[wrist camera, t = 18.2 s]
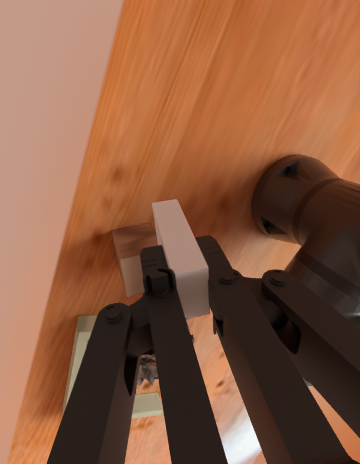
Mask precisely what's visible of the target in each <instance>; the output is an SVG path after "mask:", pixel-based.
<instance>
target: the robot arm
mask: <svg viewBox="0 0 360 464" xmlns="http://www.w3.org/2000/svg"><path fill="white" fill-rule="evenodd" d="M152 208H153V214H154V221H155V228H156V235H157V241H158V246H152V247H147V248H143V249H142V251H141V253H140V260H141V266H142V273H143V280H142V281H143V285H144V290H145V292H144V294H143V296H142V297H141V298H140V299H139V300H138V301H137V302H135V303H134V304H132V305H130V306H127V305H125V304H123V303H114V304H110V305H108V306H106V307H104V308H103V309H102V310H101V311H100V312H99V314H98V315H97V318H96V321H95V324H94V327H93V330H92V332H91V335H90V338H89V341H88V344H87V347H86V350H85V353H84V356H83V359H82V362H81V365H80V368H79V370H78V373H77V376H76V379H75V382H74V385H73V388H72V391H71V394H70V397H69V400H68V403H67V406H66V409H65V411H64V414H63V417H62V420H61V423H60V426H59V429H58V432H57V435H56V438H55V441H54V444H53V447H52V449H51V452H50V455H49V458H48V461H47V464H124V463H125V456H126V450H127V444H128V437H129V431H130V425H131V418H132V412H133V406H134V399H135V393H136V387H137V380H138V374H139V368H140V361H141V355H142V354H143V353H145V352H147V351H149V350H150V349H152V348H154V353H155V360H156V366H157V372H158V379H159V385H160V392H161V398H162V405H163V411H164V417H165V424H166V430H167V437H168V443H169V449H170V456H171V462H172V464H228V462H227V459H226V456H225V452H224V449H223V445H222V442H221V438H220V435H219V432H218V428H217V425H216V421H215V418H214V414H213V411H212V408H211V404H210V401H209V397H208V394H207V390H206V387H205V384H204V380H203V377H202V373H201V370H200V366H199V363H198V360H197V356H196V353H195V349H194V346H193V342H192V339H191V336H190V332H189V329H188V325H187V322H186V319H188V318H193V317H197V316H202V315H206V314H210V308H211V310H212V313H213V332H214V334H216V331H217V334H218V336H219V339H220V341H221V344H222V347H223V349H224V352H225V354H226V357H227V360H228V362H229V365H230V368H231V370H232V373H233V375H234V378H235V381H236V383H237V386H238V389H239V391H240V394H241V396H242V399H243V402H244V404H245V407H246V410H247V412H248V415H249V417H250V420H251V423H252V425H253V428H254V431H255V433H256V436H257V438H258V441H259V444H260V446H261V449H262V451H263V454H264V457H265V459H266V462H267V464H360V463H358V462H357V461H355V460H353V459H352V458H351V457H350V456H349V455H348V454H347V452H346V451H345V449H344V448H343V446H342V445H341V443H340V441H339V439H338V438H337V436H336V434H335V433H334V431H333V429H332V427H331V426H330V424H329V422H328V421H327V419H326V417H325V416H324V414H323V412H322V410H321V409H320V407H319V405H318V404H317V402H316V400H315V399H314V397H313V395H312V393H311V392H310V390H309V388H308V386H312V385H313V387H314V388H315V389H316V390H317V391H318V392H319V393H320V394H321V395H322V397H324V399H325V400H326V401H327V402H328V403H329V404H330V405H331V407H332V408H333V409H334V410H335V411H336V412H337V413H338V414H339V415H340V417H341V418H342V419H343V420H344V421H345V422H346V423H347V424H348V425H349V427H350V428H351V429H352V430H353V431H354V432H355V433H356V434H357V436H358V437H359V438H360V185H359V184H356V183H353V182H350V181H346V180H343V179H340V178H339V177H338V176H337V175H336V174H335V173H334V172H333V171H331V170H330V169H329V168H328V167H327V166H326V165H325V164H324V163H322V162H321V161H319V160H317V159H315V158H312V157H308V156H304V155H293V156H289V157H286V158H283V159H281V160H280V161H278V162H277V163H275V164H274V165H273V166H271V167H270V168H269V169H268V170H267V171H266V172H265V174H264V175H263V176H262V178H261V179H260V181H259V183H258V185H257V187H256V189H255V192H254V195H253V200H252V215H253V219H254V221H255V223H256V225H257V226H258V228H259V229H260V230H261V231H263V232H264V233H265V234H267V235H268V236H270V237H271V238H274V239H276V240H280V241H285V242H290V243H294V244H299V245H301V246H302V247H301V248H300V249H299V251H298V252H297V254H296V255H295V256H294V257H293V259H292V260H291V261H290V263H289V264H288V265H287V267H286V268H285V269H284V271H283V270H274V269H273V270H269V271H267V272H265V273H264V274H263V276H262V278H247V277H243V276H242V275H241V274H240V273H239V272H238V271H236V270H234V269H232V267H231V265H230V263H229V261H228V260H227V258H226V256H225V254H224V253H223V252H222V249H221V247H220V246H219V244H218V242H217V240H216V239H214V238H213V237H211V236H210V235H208V236H202V237H197V238H195V237H194V235H193V233H192V231H191V229H190V226H189V224H188V222H187V220H186V218H185V216H184V213H183V211H182V209H181V207H180V205H179V203H178V200H177V199H173V200H167V201H161V202H155V203H152Z"/></svg>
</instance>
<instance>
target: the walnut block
mask: <svg viewBox="0 0 360 464" xmlns="http://www.w3.org/2000/svg"><path fill="white" fill-rule="evenodd" d="M111 232H112V237H113V242H114V247H115V252H116V257H117V262H118V266H119V270H120V273H121V277H122V280H123V284H124V287H125V291H126V294H127V297H131V296H134V295H138V294H142V293H144V292H145V290H144V285H143V281H142V280H143V273H142V266H141V260H140V253H141V251H142V249H143V248H147V247H152V246H158V241H157V235H156V232H155V230H154V229H153V227H152V225H151V224H150V223H145V224H140V225H135V226H130V227H125V228H121V229H116V230H111Z"/></svg>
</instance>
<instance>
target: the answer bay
mask: <svg viewBox="0 0 360 464" xmlns="http://www.w3.org/2000/svg"><path fill="white" fill-rule="evenodd" d="M96 318H97V315H78V320H77V326H76V332H75V337H74V343H73V349H72V355H71V361H70V367H69V372H68V378H67V384H66V390H65V396H64V402H63V407H62V417H63V414H64V411H65V409H66V406H67V403H68V400H69V397H70V394H71V391H72V388H73V385H74V382H75V379H76V376H77V373H78V370H79V368H80V365H81V362H82V359H83V356H84V353H85V350H86V345H87V340H88V339H89V338H90V335H91V332H92V330H93V327H94V324H95V321H96ZM188 329H189V327H188ZM189 330H190V329H189ZM162 411H163V408H162V405H161V401H160V398H159V395H158V392H155V393H146V394H138V395H135V399H134V406H133V412H132V418H131V419H134V418H141V417H148V416H155V415H161V414H162Z"/></svg>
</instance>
